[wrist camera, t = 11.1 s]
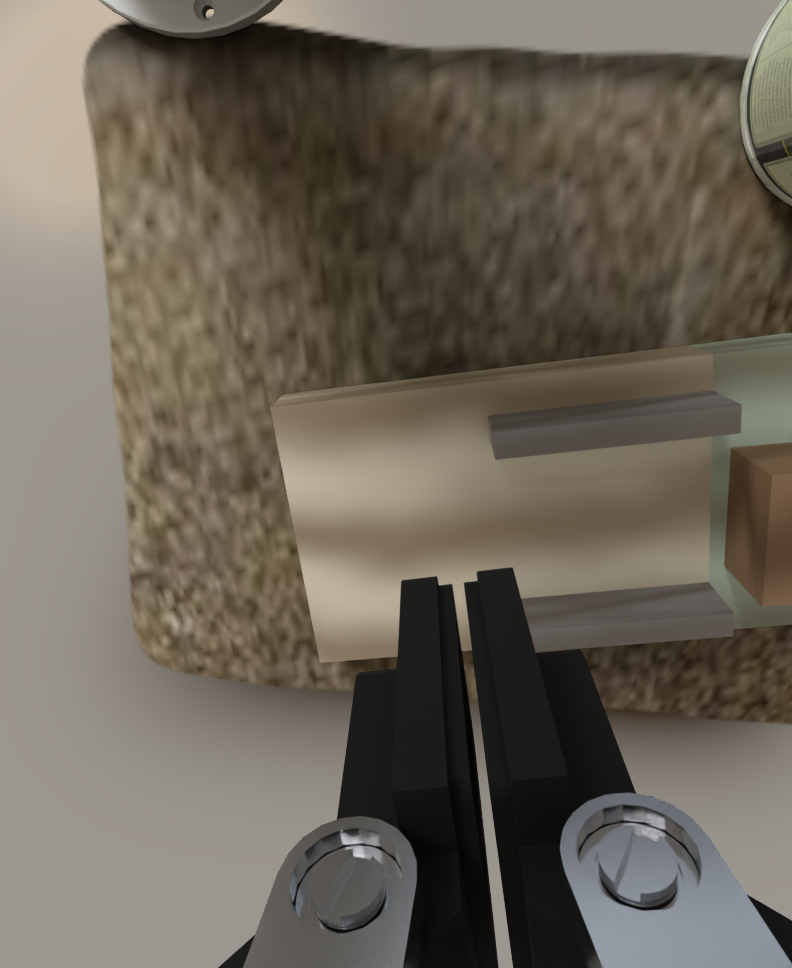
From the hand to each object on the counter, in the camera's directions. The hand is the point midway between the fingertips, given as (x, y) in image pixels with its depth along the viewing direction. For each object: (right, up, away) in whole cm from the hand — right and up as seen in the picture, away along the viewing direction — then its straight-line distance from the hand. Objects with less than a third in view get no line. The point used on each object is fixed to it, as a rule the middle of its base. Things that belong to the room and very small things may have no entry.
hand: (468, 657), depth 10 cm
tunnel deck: (+12, +3, +24) cm, 27 cm away
